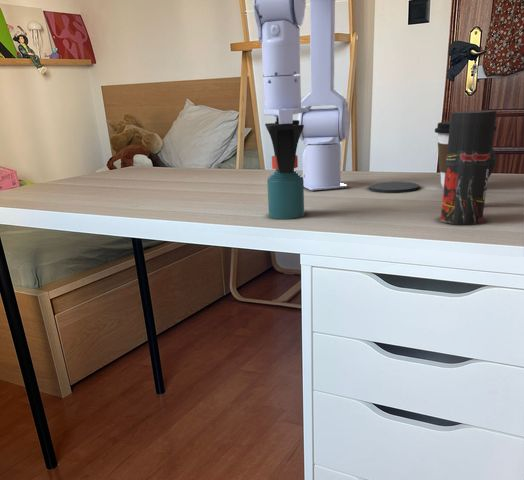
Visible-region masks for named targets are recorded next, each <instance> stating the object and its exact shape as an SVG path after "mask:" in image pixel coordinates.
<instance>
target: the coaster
mask: <svg viewBox="0 0 524 480" xmlns="http://www.w3.org/2000/svg"><path fill="white" fill-rule="evenodd" d="M419 189H420V184H419V183H415V182H410V181H409V182H408V181H407V182H406V181H385V182H378V183H372V184H370V185H368V190H369V191H371V192H376V193H385V194H386V193H395V194H396V193H397V194H398V193H408V192H409V193H410V192H414V191H417V190H419Z"/></svg>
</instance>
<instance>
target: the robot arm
mask: <svg viewBox="0 0 524 480" xmlns="http://www.w3.org/2000/svg"><path fill="white" fill-rule="evenodd" d="M306 7H307V0H253V14H254V19H255V23H256V29H257V38H258V43H261V58H262V59H261V60H262V61H261V62H262V76H263V77H262V79H263V81H262V83H263V99H264V100H263V101H264V108H263V116H273V117H274V120H275V121H274V122H271V123H270V122H269V123H265V124H264V126H265V128H266V130H267V132H268V134H269V137H270V140H271V143H272V147H273V153H274V156H276V160H277V165H278V169H279V172H280V173H293V169H294V170H295V168H294V164H295V157H296V155H297V149H298V145H299V140H301V142H303V145H305V148H304V150H303V153H302V177H303V179H304V189H307V190H309V191H324V190H334V189H344V188H348V184H346V183H342V182H341V172H342V171H341V169H342V167H341V166H342V165H341V164H342V162H341V160H342V142H344V140H346V139H347V137H348V136H349V132H350V131H349V130H350V114H349V113H350V112H349V102H348V99H347V98H346V97H345V96H344V95H343V94H342V93H340V92H339V91H337V89H335V53H336V51H335V49H336V48H335V41H336V39H335V38H336V37H335V36H336V33H335V32H336V30H335V29H336V27H335V25H336V0H309V37H310V42H309V43H310V47H309V48H310V50H309V51H310V92H309V93H307V95H305V96H304V97H303V98H302V80H301V79H302V78H301V76H302V75H301V74H302V73H301V27H302V26H303V25H304V22H305V12H306ZM322 106H334V107H322ZM312 107H322V108H312ZM294 115H297V119H294Z"/></svg>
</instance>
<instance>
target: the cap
mask: <svg viewBox="0 0 524 480" xmlns="http://www.w3.org/2000/svg"><path fill="white" fill-rule="evenodd" d="M298 159H299V158H298V154H296V157H295V164H294V169H297V168H298V167H299V161H298ZM271 169H273V170H276V169H278V165H277V160H276V156H275V155H272V156H271Z"/></svg>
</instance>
